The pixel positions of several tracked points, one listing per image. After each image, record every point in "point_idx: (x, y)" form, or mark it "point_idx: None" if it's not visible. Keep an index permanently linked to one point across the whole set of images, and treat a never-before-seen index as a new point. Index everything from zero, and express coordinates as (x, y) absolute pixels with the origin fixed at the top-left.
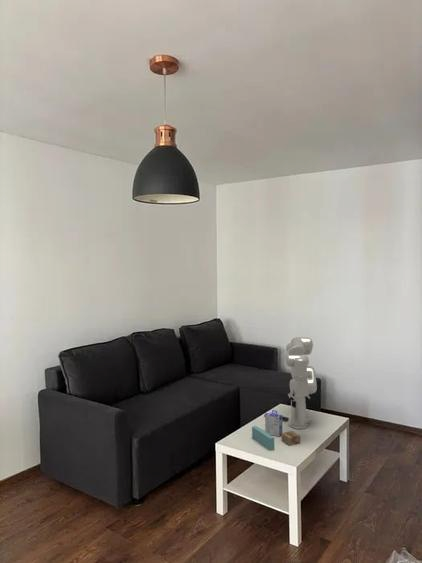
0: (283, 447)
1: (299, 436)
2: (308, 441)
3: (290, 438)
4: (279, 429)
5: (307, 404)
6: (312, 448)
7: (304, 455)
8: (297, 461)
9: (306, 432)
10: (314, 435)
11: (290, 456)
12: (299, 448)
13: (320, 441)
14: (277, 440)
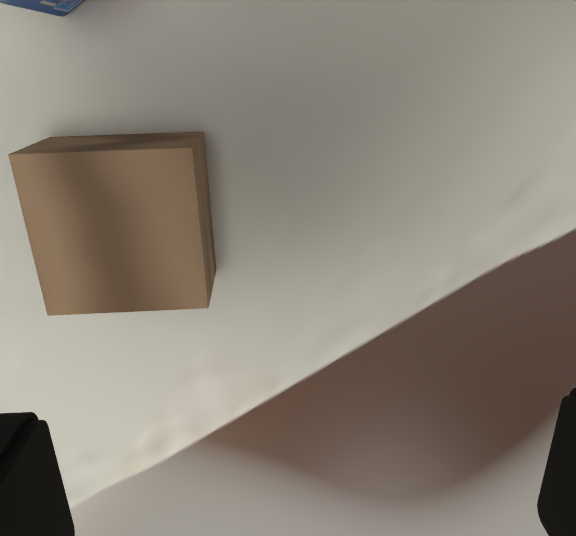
0: (10, 285)
1: (197, 304)
2: (319, 259)
3: (72, 309)
4: (32, 5)
5: (555, 503)
6: (263, 387)
7: (130, 460)
8: None
9: (457, 38)
10: (476, 156)
11: None
12: (153, 352)
13: (424, 300)
14: (4, 108)
